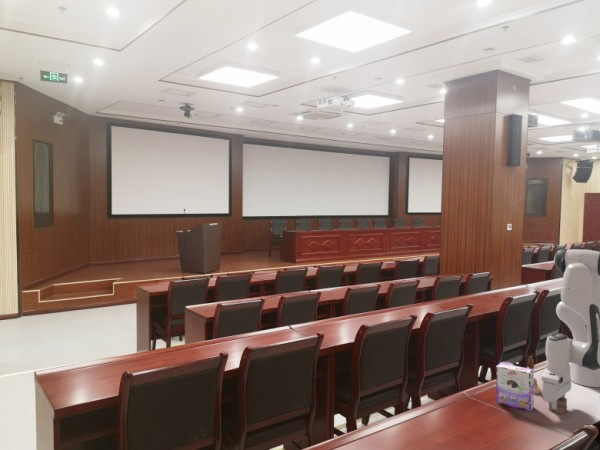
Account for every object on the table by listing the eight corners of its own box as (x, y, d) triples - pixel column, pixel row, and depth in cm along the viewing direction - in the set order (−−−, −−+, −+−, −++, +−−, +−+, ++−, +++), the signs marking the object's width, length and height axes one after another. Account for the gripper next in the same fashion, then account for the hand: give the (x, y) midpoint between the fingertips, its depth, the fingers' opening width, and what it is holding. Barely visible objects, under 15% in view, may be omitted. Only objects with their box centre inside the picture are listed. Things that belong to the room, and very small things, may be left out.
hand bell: (545, 393, 197) (544, 358, 196) (526, 393, 197) (526, 359, 196) (535, 386, 205) (535, 352, 205) (517, 386, 205) (517, 353, 205)
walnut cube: (553, 406, 184) (553, 394, 184) (566, 410, 180) (566, 398, 180) (549, 410, 181) (548, 398, 181) (562, 414, 177) (562, 402, 177)
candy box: (534, 407, 184) (534, 369, 183) (530, 412, 179) (530, 373, 179) (500, 398, 193) (500, 361, 192) (496, 402, 189) (495, 365, 188)
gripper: (559, 365, 189) (559, 396, 189) (539, 377, 176) (539, 411, 176) (575, 369, 184) (575, 401, 184) (556, 382, 171) (556, 416, 171)
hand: (558, 406), depth 180 cm, fingers closed on walnut cube, 5 cm apart
